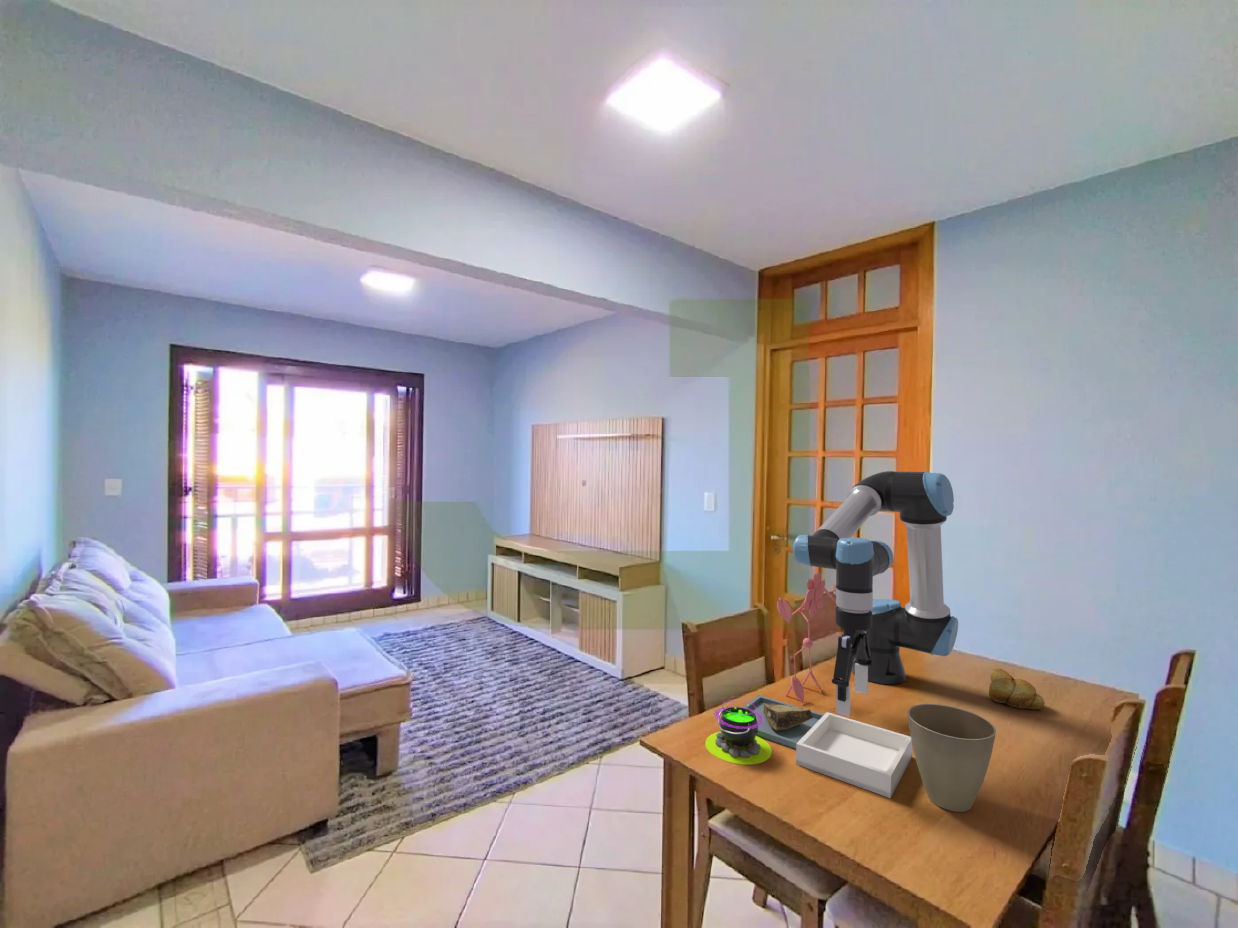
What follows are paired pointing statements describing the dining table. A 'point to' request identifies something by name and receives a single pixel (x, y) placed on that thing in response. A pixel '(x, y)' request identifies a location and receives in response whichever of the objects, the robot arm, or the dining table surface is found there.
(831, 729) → the dish
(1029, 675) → the dining table surface
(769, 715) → the rock
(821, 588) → the flower sculpture
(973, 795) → the plant pot
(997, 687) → the bread roll
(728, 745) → the toy cauldron
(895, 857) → the dining table surface
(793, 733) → the tray
